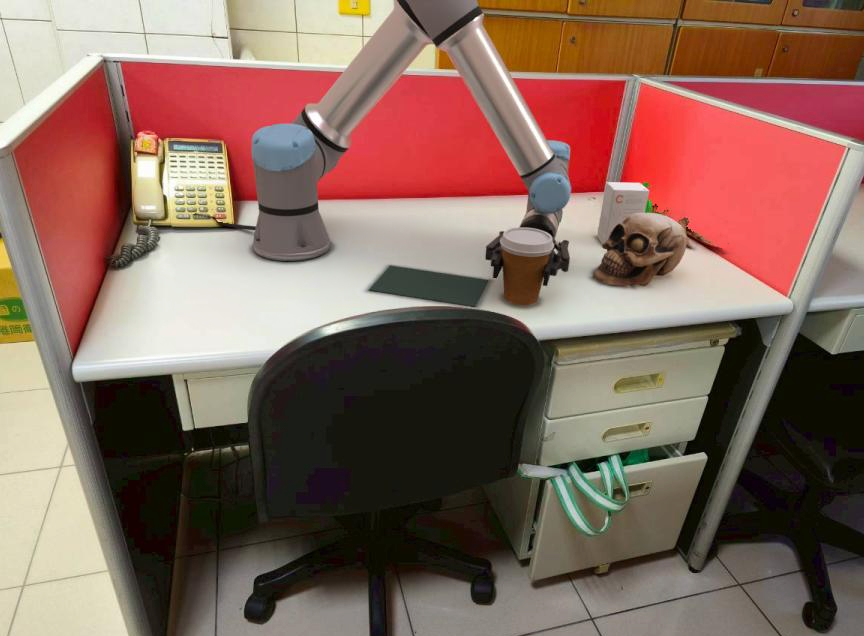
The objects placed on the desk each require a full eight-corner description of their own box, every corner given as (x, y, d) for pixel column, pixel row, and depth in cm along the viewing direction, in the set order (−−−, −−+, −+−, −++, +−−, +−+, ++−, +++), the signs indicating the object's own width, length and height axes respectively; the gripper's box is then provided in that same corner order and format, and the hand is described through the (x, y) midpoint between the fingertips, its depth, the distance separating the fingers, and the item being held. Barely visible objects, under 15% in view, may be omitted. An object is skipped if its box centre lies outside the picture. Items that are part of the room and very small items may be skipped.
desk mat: (368, 290, 115) (368, 289, 115) (390, 266, 125) (390, 265, 125) (475, 307, 112) (475, 306, 111) (488, 280, 122) (488, 279, 121)
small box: (629, 237, 148) (640, 182, 141) (638, 247, 142) (650, 190, 135) (595, 236, 147) (605, 181, 140) (603, 246, 141) (614, 189, 135)
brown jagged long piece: (656, 230, 154) (700, 256, 140) (660, 211, 152) (705, 236, 137) (689, 227, 157) (735, 252, 142) (693, 209, 154) (741, 232, 140)
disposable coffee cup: (543, 313, 110) (552, 248, 104) (490, 305, 112) (496, 241, 106) (548, 291, 119) (557, 230, 112) (499, 284, 120) (504, 223, 114)
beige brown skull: (588, 279, 124) (604, 213, 118) (606, 260, 139) (621, 199, 133) (667, 300, 119) (688, 232, 114) (677, 277, 134) (696, 216, 128)
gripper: (586, 256, 127) (577, 303, 108) (485, 242, 130) (460, 285, 111) (592, 221, 123) (584, 263, 104) (488, 207, 127) (462, 245, 108)
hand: (520, 274), depth 108 cm, fingers closed on disposable coffee cup, 8 cm apart
